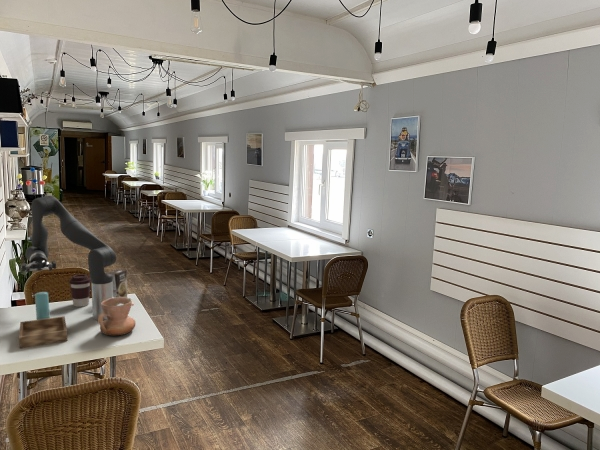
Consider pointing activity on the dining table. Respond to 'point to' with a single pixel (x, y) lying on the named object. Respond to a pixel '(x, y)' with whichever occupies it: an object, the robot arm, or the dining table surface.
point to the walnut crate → (42, 332)
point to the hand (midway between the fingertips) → (39, 269)
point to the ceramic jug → (116, 316)
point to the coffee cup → (80, 289)
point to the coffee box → (119, 283)
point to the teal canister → (42, 305)
